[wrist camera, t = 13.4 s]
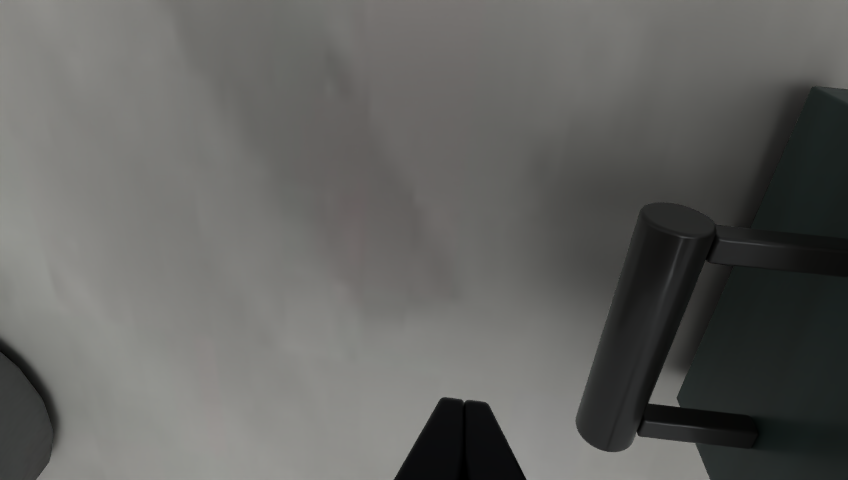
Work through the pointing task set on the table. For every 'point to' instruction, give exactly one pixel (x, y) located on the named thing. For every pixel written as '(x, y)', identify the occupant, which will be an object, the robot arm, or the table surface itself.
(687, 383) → the drawer
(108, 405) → the table surface
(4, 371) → the canister
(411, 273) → the table surface
